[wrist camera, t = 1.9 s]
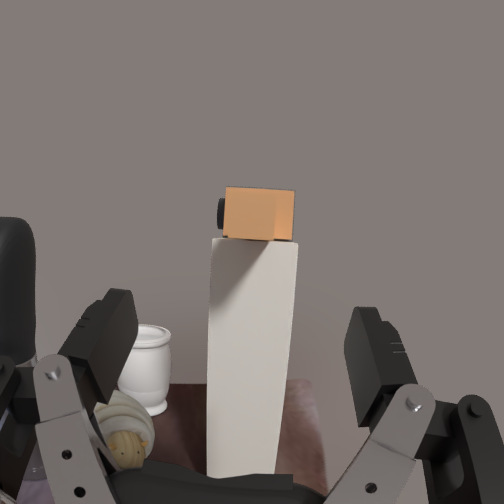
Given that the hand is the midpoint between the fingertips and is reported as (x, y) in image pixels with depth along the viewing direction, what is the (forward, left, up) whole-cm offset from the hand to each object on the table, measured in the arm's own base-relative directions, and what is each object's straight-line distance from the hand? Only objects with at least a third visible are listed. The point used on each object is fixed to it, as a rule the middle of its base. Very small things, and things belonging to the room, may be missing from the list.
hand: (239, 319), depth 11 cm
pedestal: (-19, +19, -30) cm, 40 cm away
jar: (-41, +14, -30) cm, 53 cm away
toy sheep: (-28, +4, -30) cm, 41 cm away
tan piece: (-13, +12, +3) cm, 18 cm away
